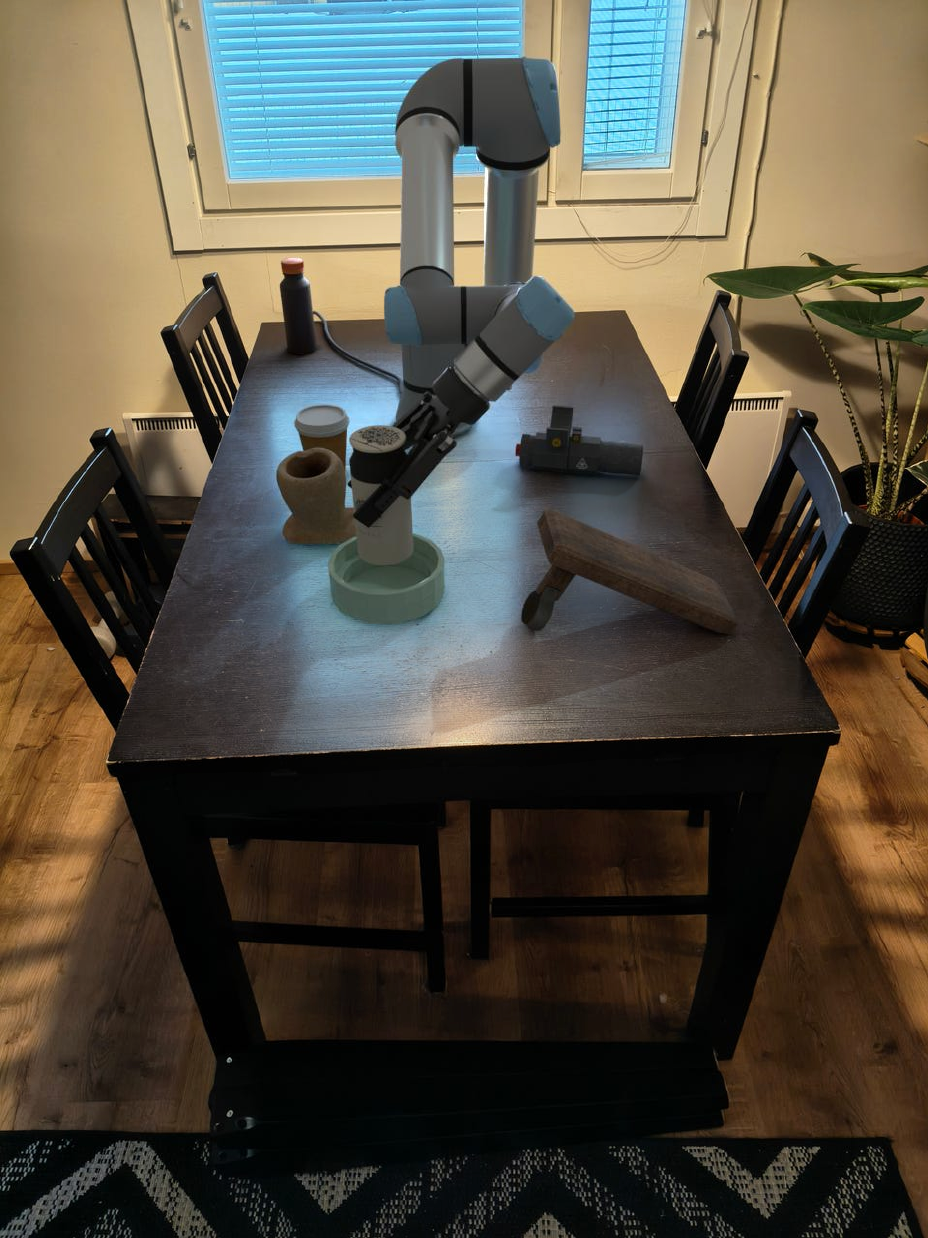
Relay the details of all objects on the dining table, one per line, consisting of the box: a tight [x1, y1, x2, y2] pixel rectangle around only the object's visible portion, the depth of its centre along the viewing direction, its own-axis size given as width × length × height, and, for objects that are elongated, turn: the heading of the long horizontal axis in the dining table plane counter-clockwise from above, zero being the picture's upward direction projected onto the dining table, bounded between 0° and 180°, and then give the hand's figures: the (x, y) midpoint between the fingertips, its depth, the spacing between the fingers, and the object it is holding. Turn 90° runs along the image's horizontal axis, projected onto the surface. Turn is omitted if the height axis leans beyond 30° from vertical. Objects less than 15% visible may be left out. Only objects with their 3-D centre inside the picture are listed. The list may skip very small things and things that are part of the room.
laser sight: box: [514, 404, 645, 477], centre depth 163 cm, size 10×22×10 cm, turn 79°
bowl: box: [327, 532, 446, 626], centre depth 134 cm, size 17×17×6 cm
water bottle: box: [279, 257, 318, 355], centre depth 208 cm, size 7×7×20 cm
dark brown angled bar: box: [520, 507, 739, 635], centre depth 128 cm, size 10×16×30 cm
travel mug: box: [348, 424, 414, 565], centre depth 126 cm, size 8×8×18 cm
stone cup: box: [275, 448, 356, 546], centre depth 144 cm, size 15×12×15 cm
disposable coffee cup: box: [293, 403, 351, 471], centre depth 161 cm, size 10×10×12 cm
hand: (357, 505), depth 126 cm, fingers closed on travel mug, 8 cm apart
